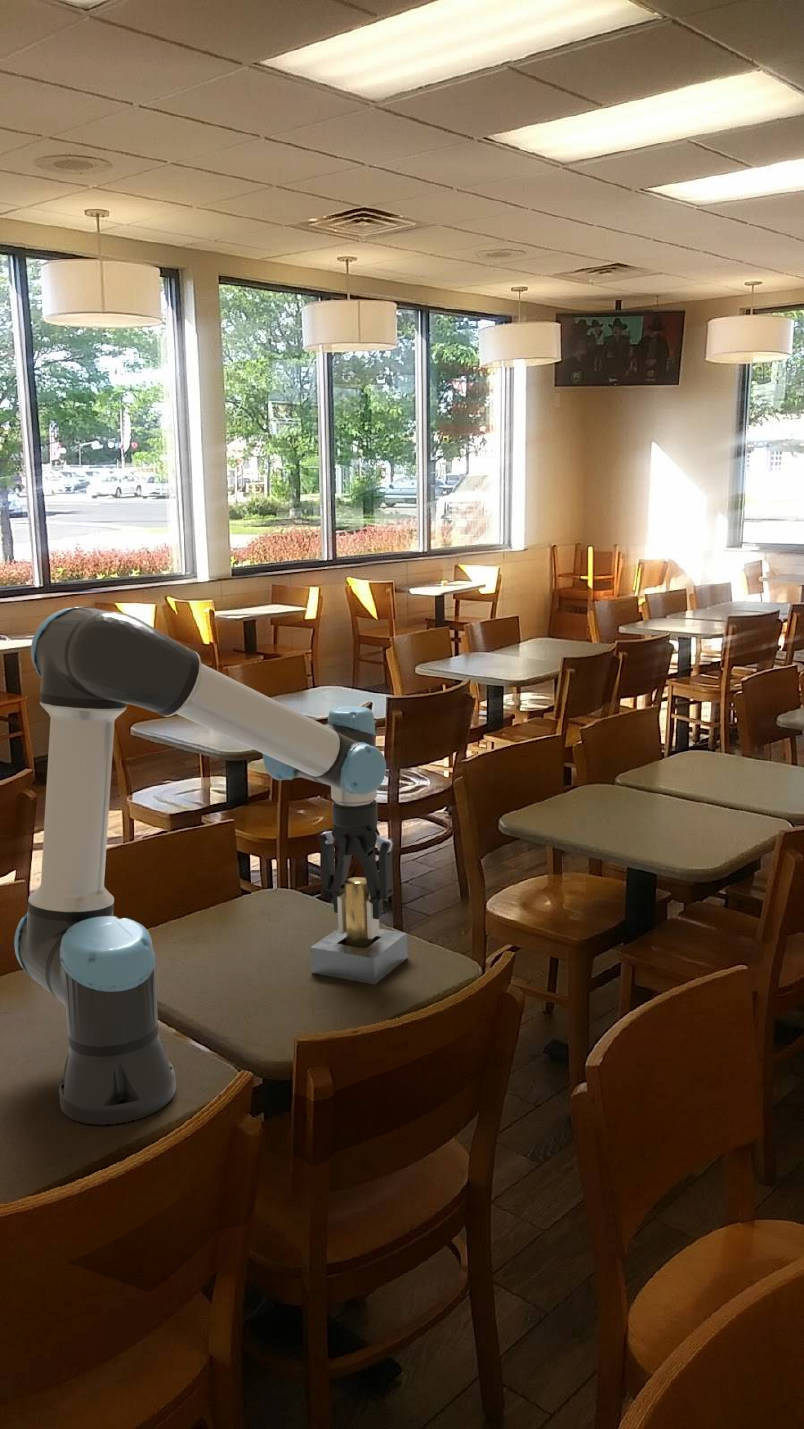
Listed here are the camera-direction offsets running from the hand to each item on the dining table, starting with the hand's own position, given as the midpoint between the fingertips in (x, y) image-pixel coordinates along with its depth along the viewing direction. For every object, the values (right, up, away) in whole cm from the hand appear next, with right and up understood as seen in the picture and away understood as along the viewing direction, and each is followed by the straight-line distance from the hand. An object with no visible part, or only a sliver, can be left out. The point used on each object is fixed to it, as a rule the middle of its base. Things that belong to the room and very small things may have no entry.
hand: (358, 933), depth 193 cm
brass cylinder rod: (0, -5, +1) cm, 5 cm away
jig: (0, -6, +1) cm, 6 cm away
